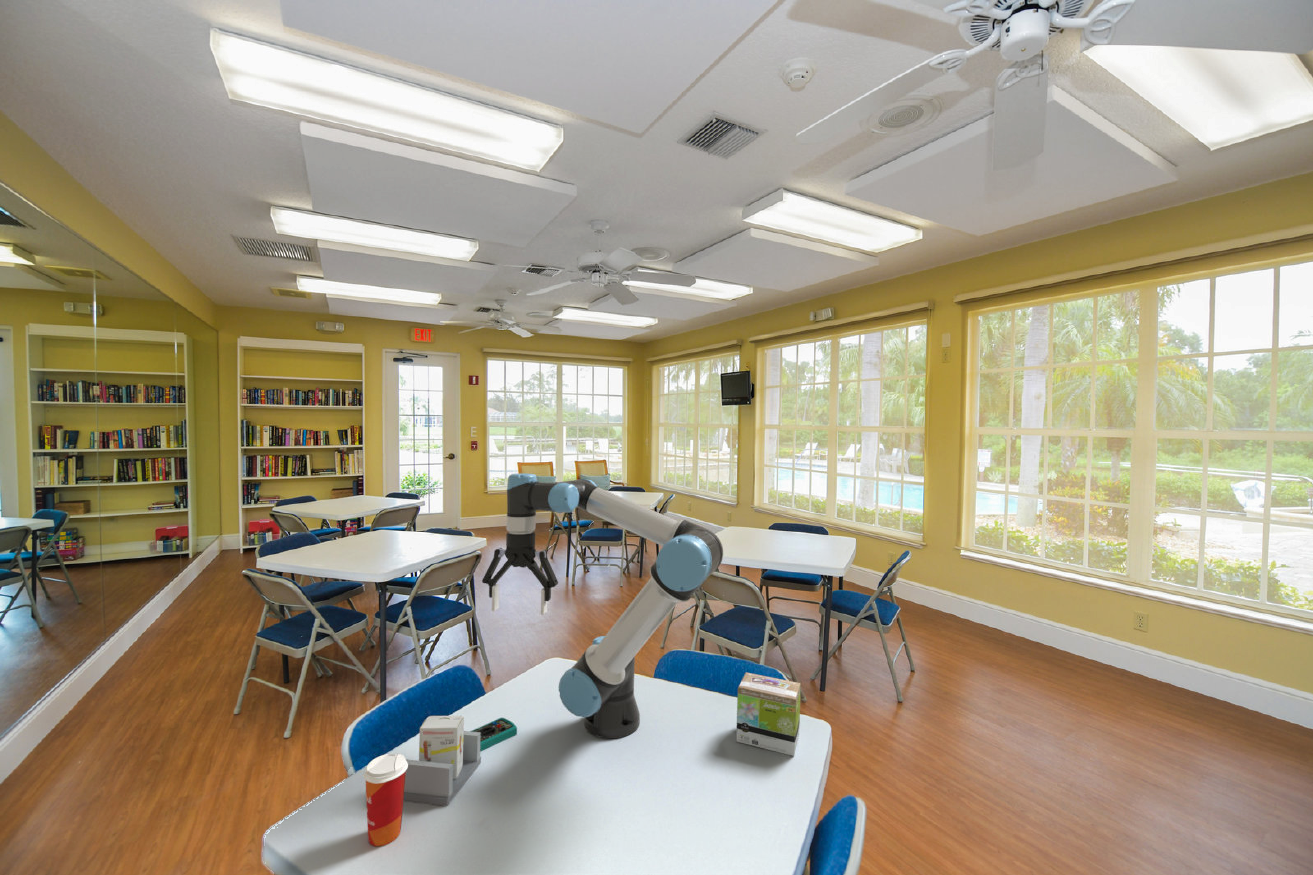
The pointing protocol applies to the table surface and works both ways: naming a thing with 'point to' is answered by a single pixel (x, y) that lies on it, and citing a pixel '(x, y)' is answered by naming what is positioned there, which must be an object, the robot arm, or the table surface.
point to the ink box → (442, 741)
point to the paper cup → (385, 797)
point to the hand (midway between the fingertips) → (519, 611)
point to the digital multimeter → (495, 732)
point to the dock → (441, 775)
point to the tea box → (768, 713)
